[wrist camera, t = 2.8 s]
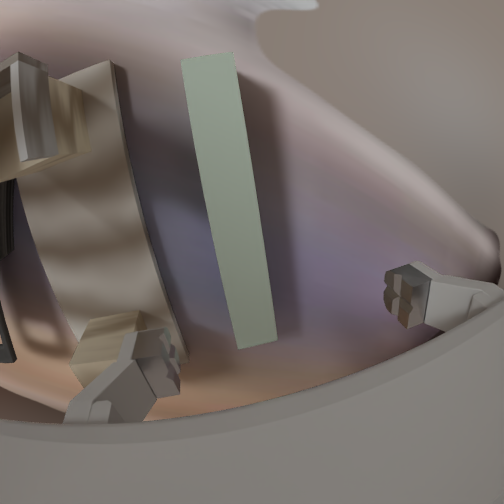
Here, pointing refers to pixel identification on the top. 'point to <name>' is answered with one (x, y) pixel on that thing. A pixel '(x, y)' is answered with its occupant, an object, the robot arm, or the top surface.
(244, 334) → the rail
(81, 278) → the rail posts
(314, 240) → the top surface
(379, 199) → the top surface
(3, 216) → the zipper pull
